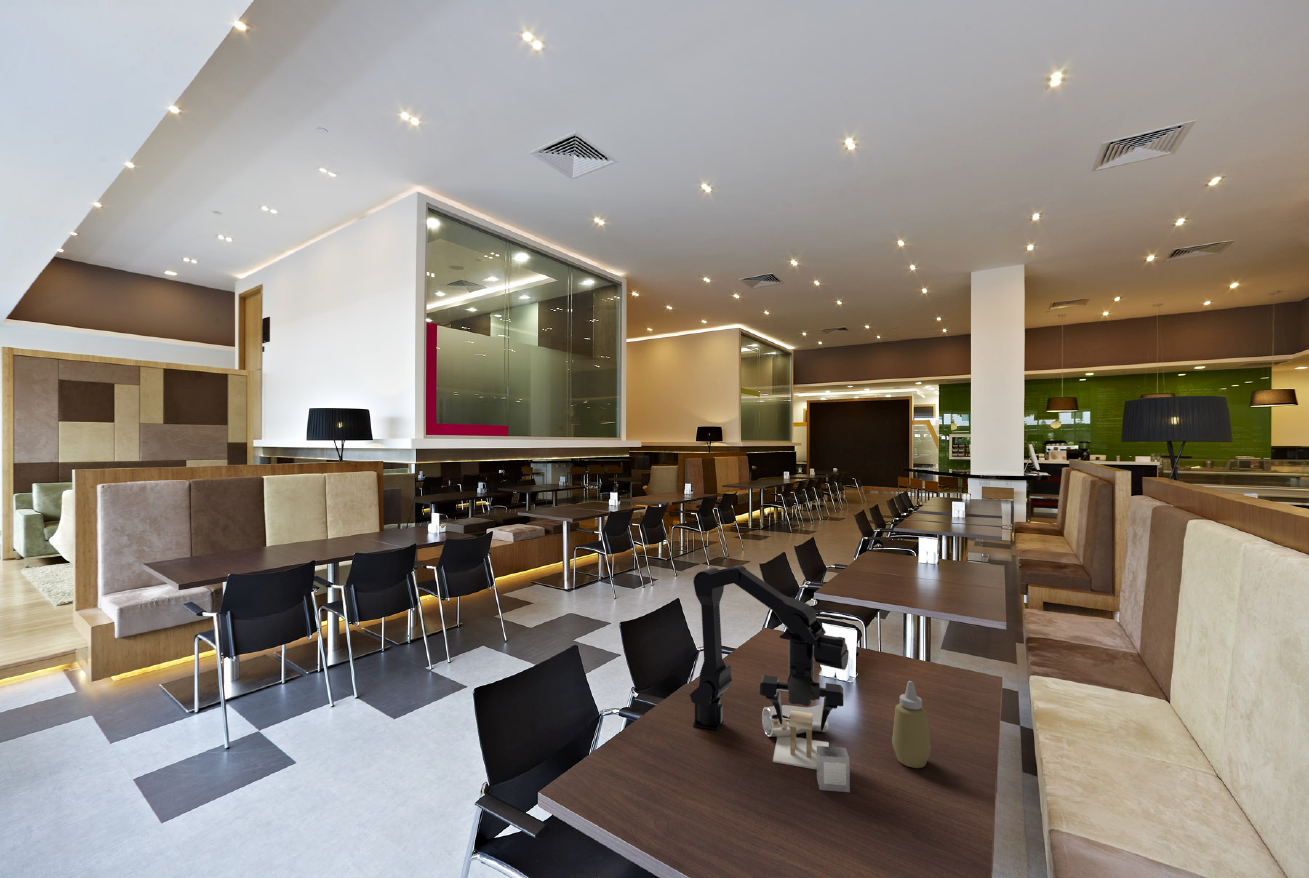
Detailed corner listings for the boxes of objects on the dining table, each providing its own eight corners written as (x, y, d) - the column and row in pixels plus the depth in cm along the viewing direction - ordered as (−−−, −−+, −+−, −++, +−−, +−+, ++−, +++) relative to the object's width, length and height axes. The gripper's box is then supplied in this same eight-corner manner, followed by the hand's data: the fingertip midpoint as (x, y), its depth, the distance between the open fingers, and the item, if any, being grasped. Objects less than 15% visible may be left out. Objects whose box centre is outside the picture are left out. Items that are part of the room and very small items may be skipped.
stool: (791, 743, 132) (791, 710, 132) (812, 747, 131) (812, 713, 131) (789, 754, 128) (789, 719, 128) (811, 758, 126) (811, 723, 126)
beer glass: (831, 719, 135) (774, 723, 132) (825, 740, 138) (769, 744, 135) (819, 696, 142) (764, 699, 139) (813, 717, 144) (759, 720, 141)
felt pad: (772, 762, 125) (772, 760, 125) (777, 736, 137) (777, 734, 137) (828, 771, 122) (828, 769, 122) (828, 744, 133) (828, 742, 133)
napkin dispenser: (820, 791, 115) (820, 757, 115) (816, 778, 119) (816, 745, 119) (850, 793, 114) (849, 759, 114) (845, 781, 118) (845, 747, 118)
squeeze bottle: (928, 755, 128) (927, 677, 128) (933, 775, 120) (932, 691, 121) (890, 749, 131) (890, 672, 131) (893, 767, 123) (892, 686, 123)
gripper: (756, 667, 125) (756, 737, 124) (843, 678, 119) (844, 751, 119) (762, 650, 135) (762, 715, 135) (842, 659, 130) (843, 726, 129)
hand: (801, 726), depth 129 cm, fingers open, 9 cm apart
